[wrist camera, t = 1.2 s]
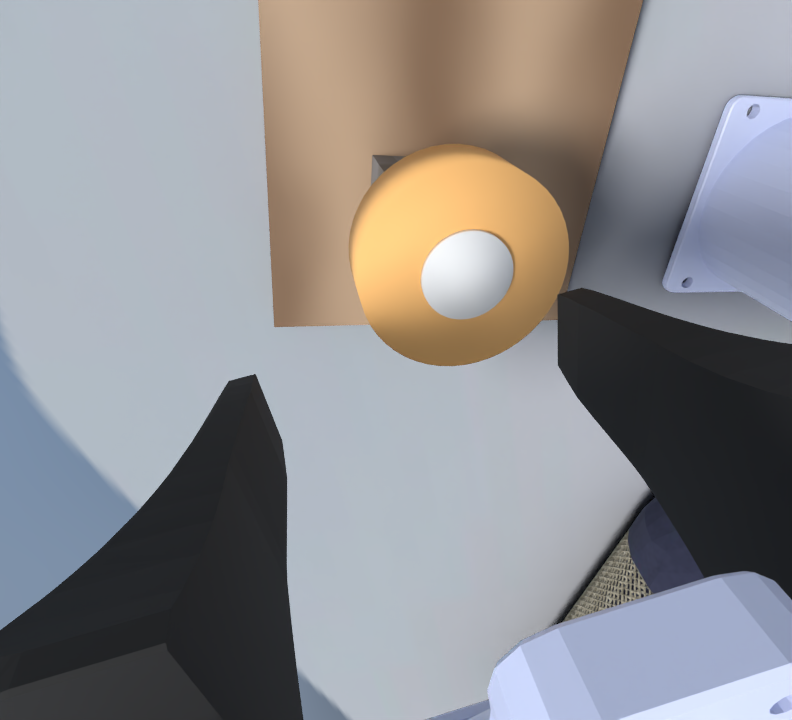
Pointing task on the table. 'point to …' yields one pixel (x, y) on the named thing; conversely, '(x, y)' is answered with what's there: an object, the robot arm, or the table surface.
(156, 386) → the table surface
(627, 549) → the portable speaker
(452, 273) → the wheel
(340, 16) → the wooden fixture board
